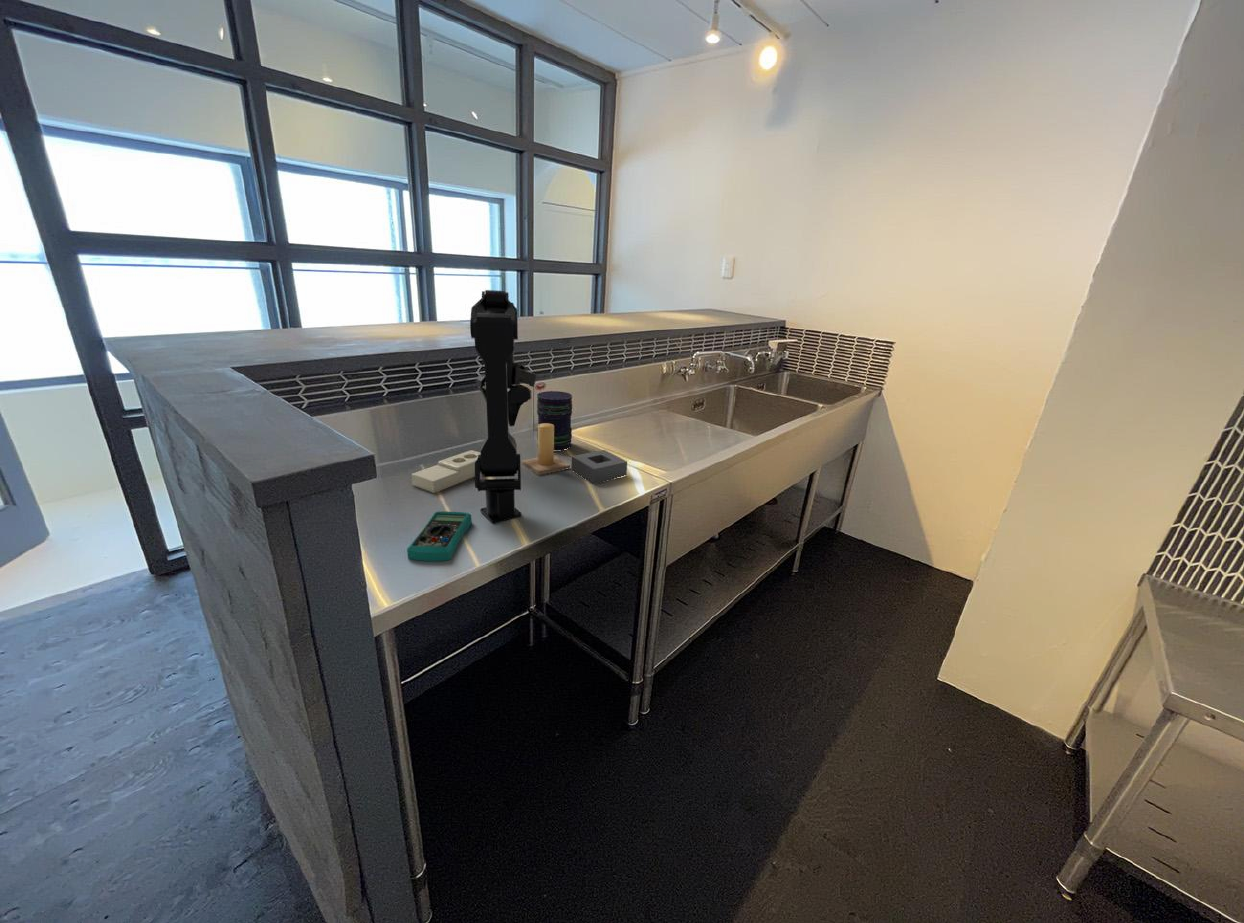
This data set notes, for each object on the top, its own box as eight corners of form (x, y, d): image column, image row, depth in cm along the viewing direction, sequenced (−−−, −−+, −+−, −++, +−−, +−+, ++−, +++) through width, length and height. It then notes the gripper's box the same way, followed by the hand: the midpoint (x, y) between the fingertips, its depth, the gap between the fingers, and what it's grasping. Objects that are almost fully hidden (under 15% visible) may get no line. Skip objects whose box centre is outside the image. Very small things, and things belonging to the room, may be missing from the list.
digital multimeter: (405, 562, 86) (404, 547, 85) (435, 522, 100) (434, 508, 99) (448, 564, 87) (447, 550, 85) (472, 523, 100) (472, 510, 99)
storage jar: (549, 454, 139) (550, 401, 134) (530, 444, 146) (529, 393, 140) (578, 447, 145) (579, 396, 140) (558, 438, 152) (558, 389, 147)
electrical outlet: (411, 470, 114) (471, 449, 129) (412, 486, 115) (471, 464, 130) (432, 477, 111) (491, 455, 125) (434, 494, 112) (492, 470, 127)
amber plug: (556, 463, 129) (556, 426, 126) (542, 466, 127) (542, 428, 124) (549, 459, 132) (549, 422, 129) (535, 461, 130) (535, 424, 127)
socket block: (626, 476, 126) (627, 461, 125) (593, 484, 121) (593, 469, 119) (603, 464, 134) (604, 449, 132) (571, 471, 128) (571, 456, 127)
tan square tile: (569, 468, 129) (570, 465, 129) (538, 475, 124) (538, 471, 124) (552, 458, 136) (552, 454, 136) (522, 463, 131) (522, 460, 130)
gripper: (551, 362, 117) (551, 426, 122) (515, 350, 130) (516, 408, 136) (506, 365, 110) (508, 433, 116) (473, 352, 124) (476, 413, 129)
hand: (503, 421), depth 124 cm, fingers open, 9 cm apart
